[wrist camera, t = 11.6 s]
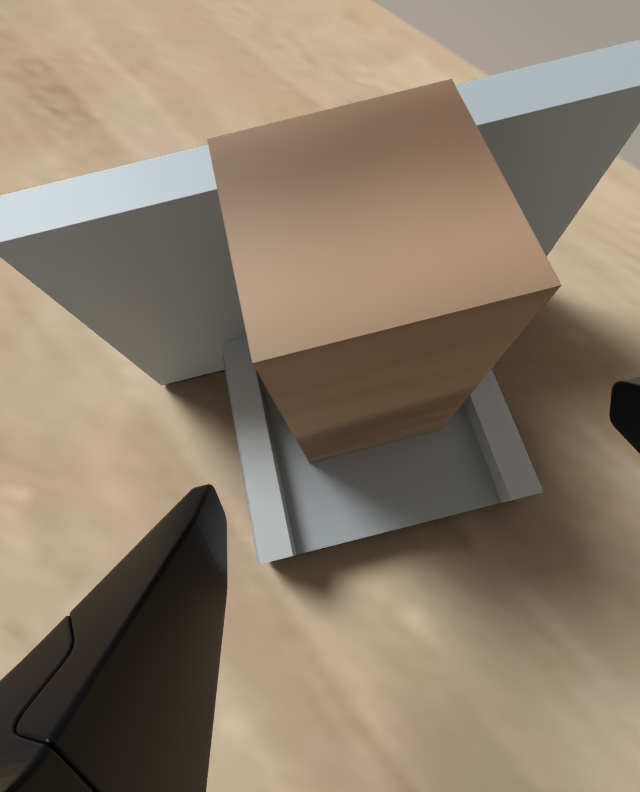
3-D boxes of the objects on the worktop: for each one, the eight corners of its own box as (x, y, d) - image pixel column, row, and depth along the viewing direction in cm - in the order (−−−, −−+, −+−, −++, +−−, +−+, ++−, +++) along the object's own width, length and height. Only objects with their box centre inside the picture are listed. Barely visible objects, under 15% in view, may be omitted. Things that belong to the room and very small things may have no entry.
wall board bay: (604, 476, 17) (929, 398, 7) (183, 583, 17) (-38, 643, 7) (506, 269, 20) (639, 39, 11) (158, 356, 20) (-12, 198, 11)
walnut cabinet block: (441, 429, 16) (561, 285, 7) (309, 463, 16) (252, 362, 7) (400, 315, 18) (451, 78, 9) (281, 345, 18) (206, 139, 9)
